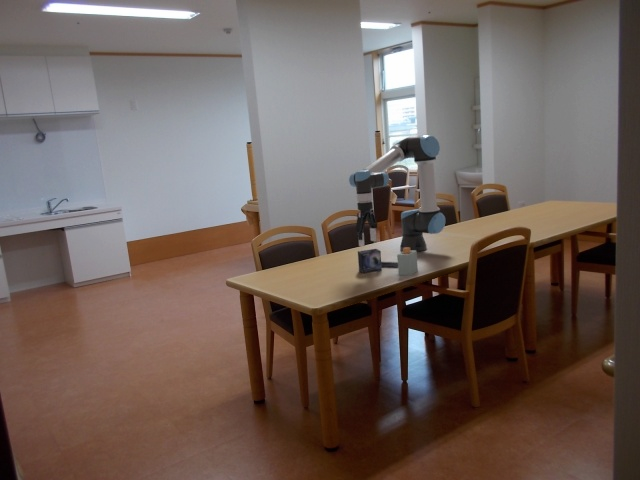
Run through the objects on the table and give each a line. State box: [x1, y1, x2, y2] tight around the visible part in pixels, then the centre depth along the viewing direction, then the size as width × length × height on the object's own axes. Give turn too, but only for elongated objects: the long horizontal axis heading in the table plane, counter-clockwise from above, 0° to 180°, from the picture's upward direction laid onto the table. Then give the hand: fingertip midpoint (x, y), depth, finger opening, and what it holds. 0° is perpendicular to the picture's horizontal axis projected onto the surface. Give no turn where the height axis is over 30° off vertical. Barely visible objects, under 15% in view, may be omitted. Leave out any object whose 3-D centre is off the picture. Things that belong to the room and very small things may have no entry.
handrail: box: [381, 260, 398, 268], centre depth 283 cm, size 2×23×3 cm, turn 59°
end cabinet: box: [396, 250, 419, 276], centre depth 266 cm, size 10×6×10 cm, turn 149°
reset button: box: [402, 247, 411, 254], centre depth 265 cm, size 4×4×5 cm
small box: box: [357, 248, 383, 274], centre depth 277 cm, size 11×6×10 cm, turn 105°
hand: (367, 243), depth 275 cm, fingers open, 13 cm apart
